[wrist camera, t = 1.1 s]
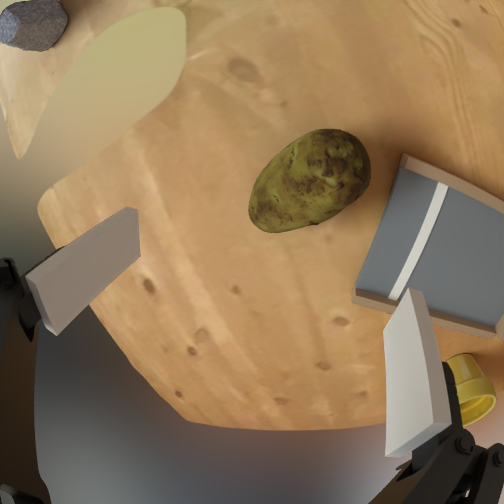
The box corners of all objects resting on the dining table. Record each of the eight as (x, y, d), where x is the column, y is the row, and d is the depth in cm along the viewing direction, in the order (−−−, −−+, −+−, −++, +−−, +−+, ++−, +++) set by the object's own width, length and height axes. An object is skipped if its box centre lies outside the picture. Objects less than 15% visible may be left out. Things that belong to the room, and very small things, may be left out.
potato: (235, 158, 29) (203, 176, 22) (351, 117, 24) (357, 119, 17) (265, 226, 32) (244, 261, 25) (376, 194, 26) (389, 224, 20)
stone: (42, 30, 26) (56, -13, 19) (67, 50, 29) (84, 3, 22) (-10, 56, 19) (-4, 8, 12) (11, 79, 22) (18, 26, 15)
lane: (402, 152, 23) (411, 158, 20) (550, 231, 19) (563, 243, 16) (351, 290, 33) (351, 309, 30) (493, 330, 29) (500, 346, 26)
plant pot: (479, 374, 33) (490, 418, 25) (429, 390, 38) (433, 436, 29) (486, 336, 30) (503, 386, 21) (428, 356, 34) (437, 408, 26)
